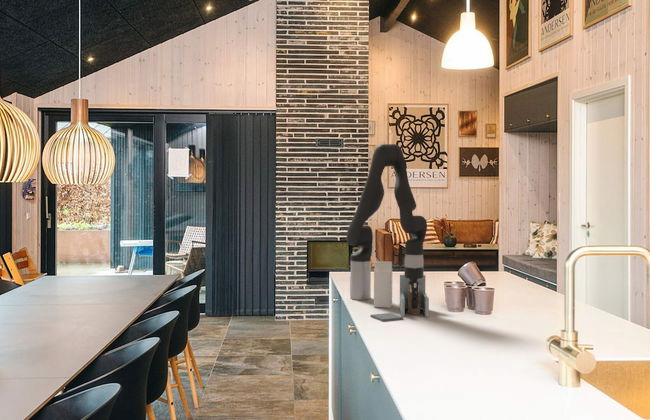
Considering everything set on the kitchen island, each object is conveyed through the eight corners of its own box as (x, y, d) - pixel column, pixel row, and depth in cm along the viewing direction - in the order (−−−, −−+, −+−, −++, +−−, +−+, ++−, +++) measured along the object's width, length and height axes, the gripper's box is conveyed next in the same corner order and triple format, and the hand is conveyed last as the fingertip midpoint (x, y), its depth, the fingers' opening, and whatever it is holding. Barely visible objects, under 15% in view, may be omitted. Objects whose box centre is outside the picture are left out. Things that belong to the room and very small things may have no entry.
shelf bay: (399, 308, 235) (399, 274, 235) (424, 308, 234) (425, 275, 234) (401, 316, 219) (401, 280, 219) (428, 317, 218) (428, 280, 218)
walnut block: (407, 311, 229) (407, 289, 228) (419, 311, 228) (419, 289, 228) (408, 313, 224) (408, 291, 224) (419, 314, 224) (420, 291, 223)
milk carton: (390, 308, 236) (391, 262, 235) (373, 307, 237) (373, 262, 237) (392, 304, 243) (392, 260, 242) (375, 304, 244) (375, 260, 244)
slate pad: (370, 316, 218) (370, 314, 218) (390, 314, 222) (390, 312, 222) (382, 321, 210) (382, 319, 210) (403, 319, 214) (403, 317, 214)
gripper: (403, 263, 233) (403, 302, 233) (405, 267, 219) (405, 309, 219) (422, 263, 232) (421, 303, 233) (425, 268, 218) (424, 310, 219)
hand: (413, 306), depth 226 cm, fingers open, 8 cm apart
